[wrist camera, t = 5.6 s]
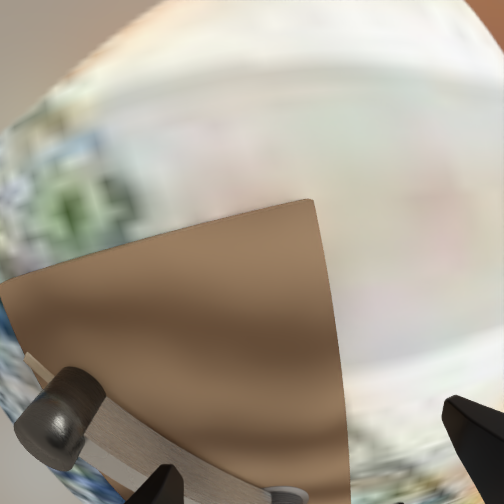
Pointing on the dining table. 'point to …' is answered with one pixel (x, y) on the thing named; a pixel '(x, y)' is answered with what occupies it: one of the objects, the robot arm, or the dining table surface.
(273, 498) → the lever
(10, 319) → the base
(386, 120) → the dining table surface
